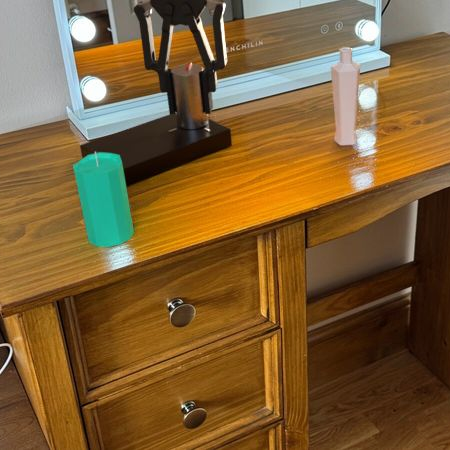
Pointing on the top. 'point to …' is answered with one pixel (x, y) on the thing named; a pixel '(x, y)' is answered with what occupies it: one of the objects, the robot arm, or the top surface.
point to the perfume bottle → (345, 97)
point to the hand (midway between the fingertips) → (191, 110)
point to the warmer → (160, 146)
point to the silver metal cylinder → (189, 96)
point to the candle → (104, 199)
